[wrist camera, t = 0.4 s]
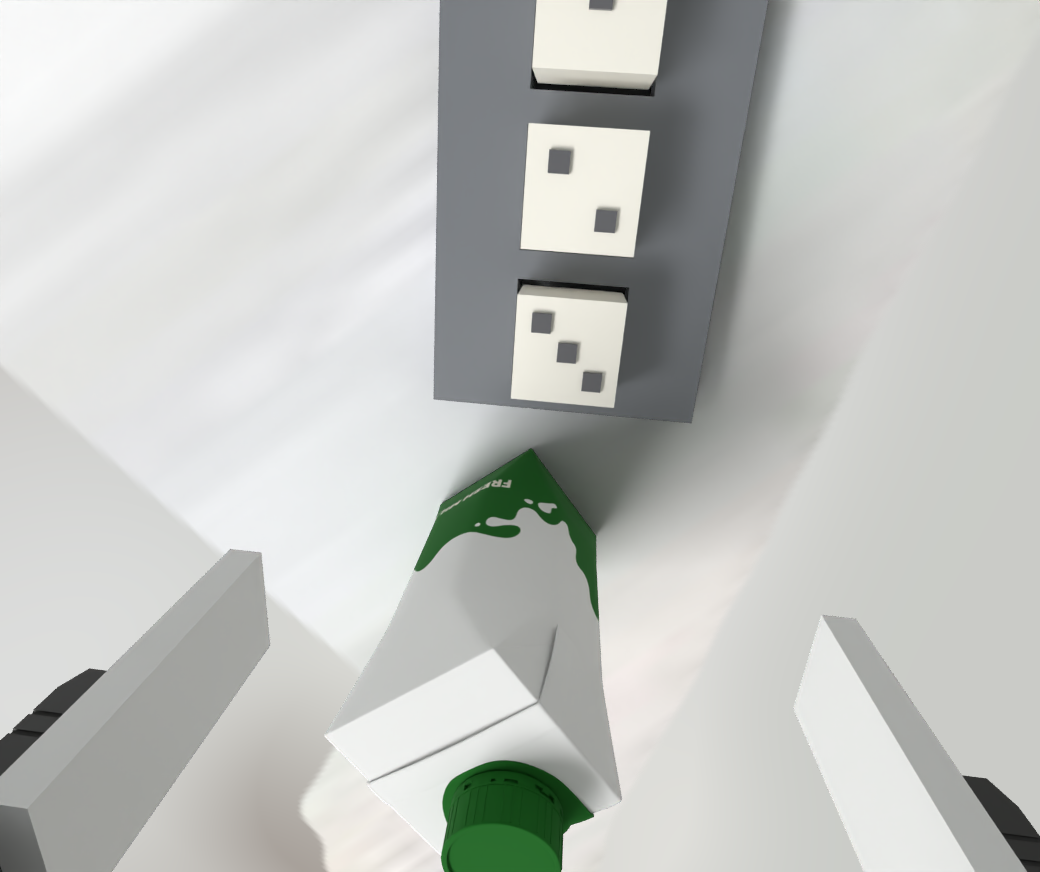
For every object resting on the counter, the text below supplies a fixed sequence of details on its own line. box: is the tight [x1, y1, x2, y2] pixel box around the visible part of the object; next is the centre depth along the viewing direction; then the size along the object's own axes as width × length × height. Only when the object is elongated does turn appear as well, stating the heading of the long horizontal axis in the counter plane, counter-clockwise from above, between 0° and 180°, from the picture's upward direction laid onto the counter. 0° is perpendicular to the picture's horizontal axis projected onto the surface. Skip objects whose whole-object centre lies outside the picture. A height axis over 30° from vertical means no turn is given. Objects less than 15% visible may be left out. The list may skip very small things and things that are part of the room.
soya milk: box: [325, 449, 622, 872], centre depth 29 cm, size 9×9×20 cm
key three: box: [511, 284, 628, 408], centre depth 30 cm, size 5×5×4 cm
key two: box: [520, 123, 650, 257], centre depth 27 cm, size 5×5×4 cm
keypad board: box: [434, 0, 768, 423], centre depth 30 cm, size 22×14×2 cm, turn 176°
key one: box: [532, 0, 667, 90], centre depth 25 cm, size 5×5×4 cm
